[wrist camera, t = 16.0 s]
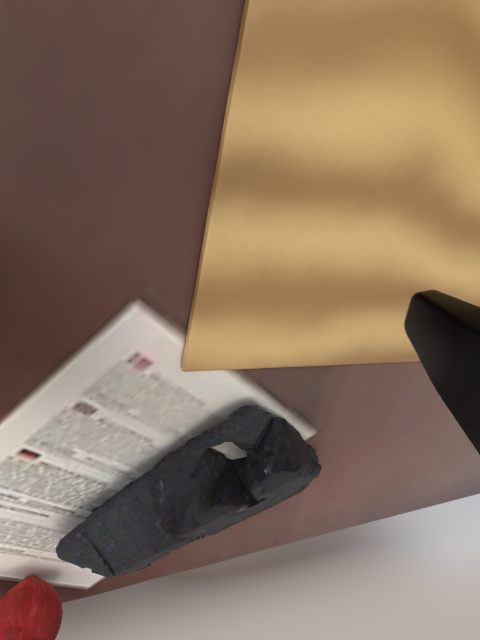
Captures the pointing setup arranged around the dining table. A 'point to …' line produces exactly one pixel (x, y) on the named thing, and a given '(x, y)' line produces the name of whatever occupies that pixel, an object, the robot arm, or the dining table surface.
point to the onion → (30, 611)
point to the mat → (340, 183)
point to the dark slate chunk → (194, 494)
